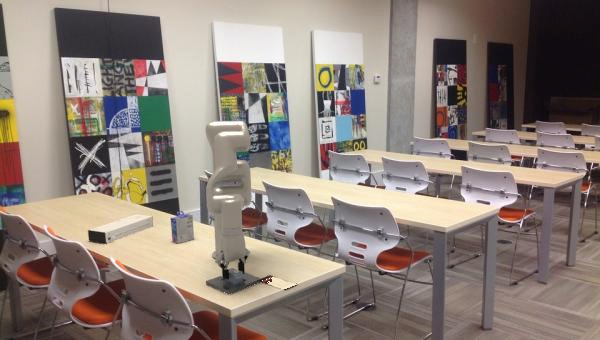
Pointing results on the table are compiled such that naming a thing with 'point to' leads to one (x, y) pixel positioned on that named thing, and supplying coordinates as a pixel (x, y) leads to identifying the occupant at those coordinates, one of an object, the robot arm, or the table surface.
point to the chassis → (230, 288)
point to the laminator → (120, 228)
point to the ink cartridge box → (182, 227)
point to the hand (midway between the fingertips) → (233, 275)
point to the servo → (235, 276)
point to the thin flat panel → (271, 281)
